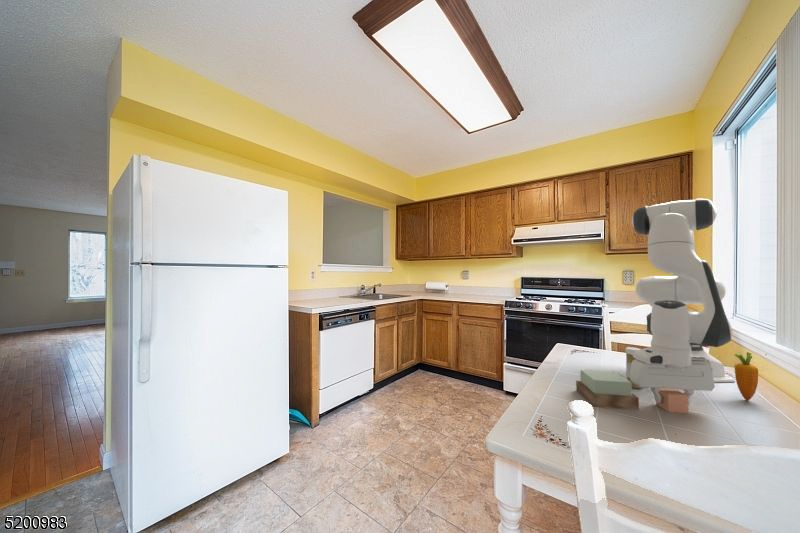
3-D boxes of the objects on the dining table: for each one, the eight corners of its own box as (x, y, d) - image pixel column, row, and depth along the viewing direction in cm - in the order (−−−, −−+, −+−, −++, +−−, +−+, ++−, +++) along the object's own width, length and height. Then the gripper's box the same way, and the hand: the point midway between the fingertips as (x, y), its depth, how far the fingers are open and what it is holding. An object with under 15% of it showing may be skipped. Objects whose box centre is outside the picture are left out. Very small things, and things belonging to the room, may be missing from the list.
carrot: (742, 402, 90) (741, 353, 91) (730, 396, 95) (729, 349, 95) (764, 404, 89) (762, 355, 89) (751, 398, 93) (750, 351, 94)
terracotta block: (674, 405, 88) (674, 388, 88) (688, 413, 83) (688, 395, 83) (656, 404, 89) (655, 387, 89) (668, 412, 84) (668, 394, 84)
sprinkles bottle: (644, 387, 102) (644, 348, 103) (639, 390, 100) (639, 350, 100) (629, 383, 106) (628, 346, 106) (623, 385, 104) (623, 347, 104)
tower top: (613, 383, 97) (613, 371, 97) (631, 396, 87) (631, 382, 87) (580, 381, 98) (580, 369, 99) (594, 393, 89) (594, 380, 89)
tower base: (615, 394, 97) (615, 382, 97) (638, 411, 85) (638, 397, 86) (576, 392, 99) (576, 380, 99) (594, 408, 87) (594, 395, 87)
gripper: (701, 354, 88) (702, 400, 88) (626, 351, 91) (627, 396, 91) (720, 360, 82) (722, 410, 81) (640, 357, 85) (641, 405, 84)
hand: (671, 403), depth 86 cm, fingers closed on terracotta block, 5 cm apart
